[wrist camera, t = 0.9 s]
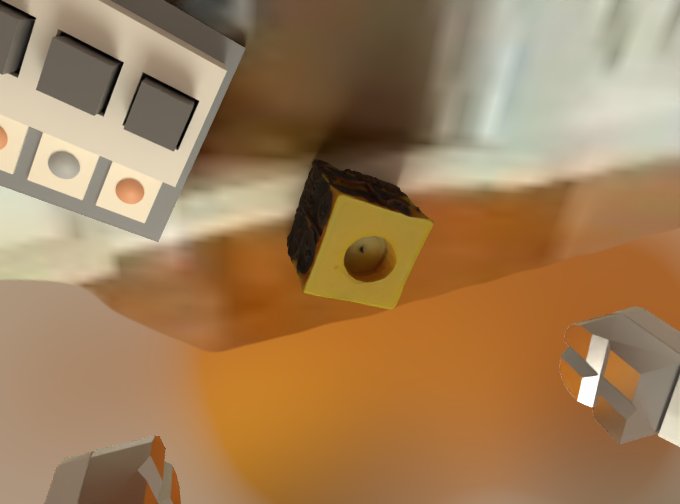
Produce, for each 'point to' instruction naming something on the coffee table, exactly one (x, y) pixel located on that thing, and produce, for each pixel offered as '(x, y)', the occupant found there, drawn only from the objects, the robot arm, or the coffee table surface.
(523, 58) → the coffee table surface
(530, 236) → the coffee table surface
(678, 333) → the robot arm
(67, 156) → the switch unit
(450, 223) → the coffee table surface
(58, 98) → the switch
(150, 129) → the switch
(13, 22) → the switch
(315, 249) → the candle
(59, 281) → the coffee table surface
